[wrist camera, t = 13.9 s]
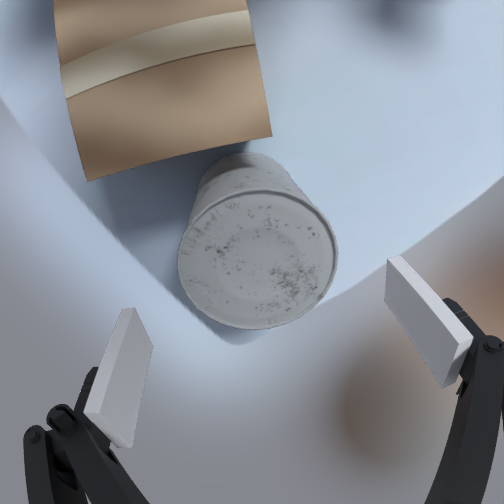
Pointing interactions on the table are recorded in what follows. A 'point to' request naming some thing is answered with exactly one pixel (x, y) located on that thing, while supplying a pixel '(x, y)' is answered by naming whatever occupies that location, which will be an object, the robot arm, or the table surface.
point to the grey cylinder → (255, 245)
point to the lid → (158, 79)
